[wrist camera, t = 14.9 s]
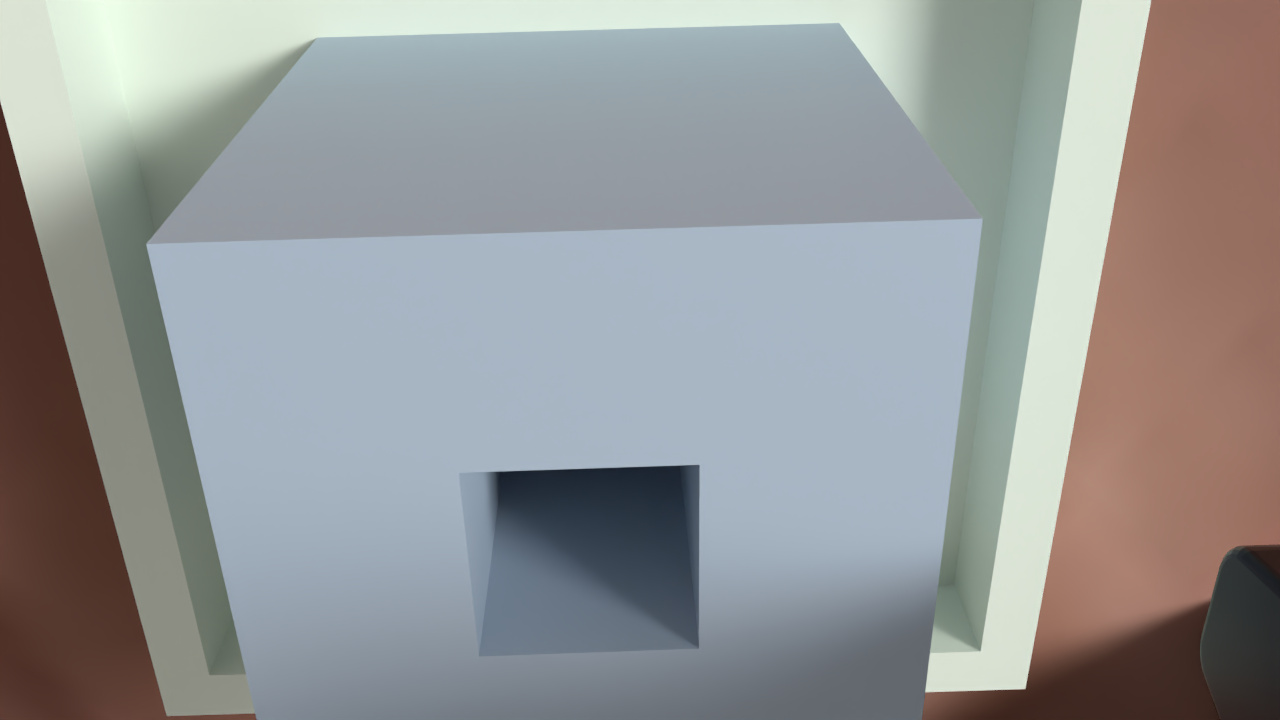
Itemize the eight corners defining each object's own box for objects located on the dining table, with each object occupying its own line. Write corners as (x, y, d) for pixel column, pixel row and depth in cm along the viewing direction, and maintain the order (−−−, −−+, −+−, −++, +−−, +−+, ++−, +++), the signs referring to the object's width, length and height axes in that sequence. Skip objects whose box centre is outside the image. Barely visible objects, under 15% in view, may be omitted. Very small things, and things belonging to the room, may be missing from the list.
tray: (1115, -276, 11) (1200, -273, 10) (983, 590, 16) (1025, 689, 14) (6, -258, 11) (-95, -250, 9) (210, 613, 16) (166, 716, 14)
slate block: (839, 22, 12) (982, 220, 7) (814, 459, 14) (912, 804, 10) (317, 37, 12) (147, 243, 7) (380, 474, 14) (280, 828, 10)
